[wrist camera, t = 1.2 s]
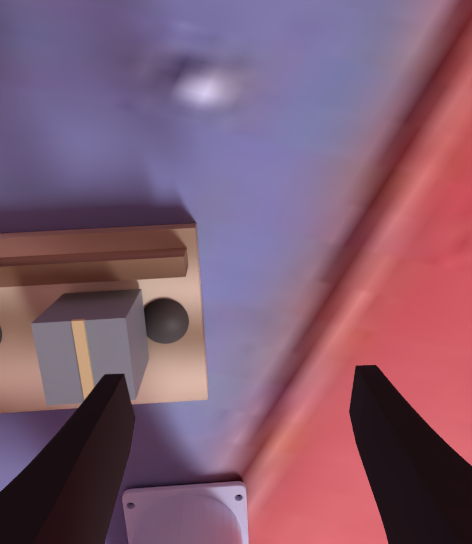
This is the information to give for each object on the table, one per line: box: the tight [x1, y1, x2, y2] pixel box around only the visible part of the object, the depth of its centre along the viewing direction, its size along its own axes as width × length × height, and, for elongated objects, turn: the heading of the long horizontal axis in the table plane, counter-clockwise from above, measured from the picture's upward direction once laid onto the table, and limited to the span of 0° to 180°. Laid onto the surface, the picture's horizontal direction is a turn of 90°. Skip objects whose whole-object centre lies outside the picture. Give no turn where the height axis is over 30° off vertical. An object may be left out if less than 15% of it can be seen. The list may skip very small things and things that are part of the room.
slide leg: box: [31, 289, 149, 405], centre depth 20 cm, size 4×4×4 cm
